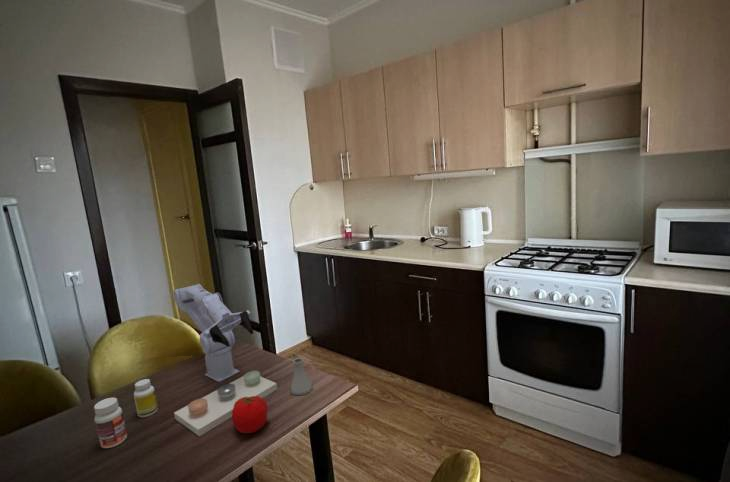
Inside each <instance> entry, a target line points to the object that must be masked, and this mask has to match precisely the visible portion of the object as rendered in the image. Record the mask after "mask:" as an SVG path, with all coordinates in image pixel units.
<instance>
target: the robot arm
mask: <svg viewBox="0 0 730 482" xmlns="http://www.w3.org/2000/svg"><path fill="white" fill-rule="evenodd" d="M173 298H174V302H175V304H176V306H177V307H178V308H179V309H180V311H181V312H184V313H187V314H188V315H189V317H190V318H191V320H192V321H193V322H194V324H195V325H196V326H197V328H198V329H199V330H200V332H201V333H200V334H199V344H200V346H201V348H202V351H203V353H204V354H205V355H204V361H205V366H206V373H205V374H204V376H205V377H208V378H210V379H212V380H214V381H216V382H217V383H221V382H223V381H224V380H226V379H229V378H231V377H232V376H235V375H236V374H238V373H240V370H239V369H236V368H234V363H233V356H232V349H233V346H234V344H235V341H236V340H235V335H234V332H233V330H234V329H236V327H237V326H238V325H240V324H241V323H242V327H243V329H245V330H247V331H248V333H249V334H250V335H253V334H254V331H253V330H254V329H253V327H252V326H251V321H250V319H252V313H251V311H250V310H248V309H246V310H244V311H239V312H235V313H234V312H233V313H232V312H231V310H230V309H229V308H228V307H227V306H226V305H225V304H224V300H223V298H222V295H221V294H220V293H219V292H215V293H212V292H210V291H208V290H206V289H205V288H203V286H202V285H201V284H200V283H197V284H194V285H190V286H185V287H182V288H175V289H174V291H173Z"/></svg>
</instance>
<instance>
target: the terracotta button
mask: <svg viewBox="0 0 730 482" xmlns="http://www.w3.org/2000/svg"><path fill="white" fill-rule="evenodd" d="M187 406H188V409H189V413H190V414H193V415H195V414H199V413H202V412H204V411H205V410H206V409H207V408H208V403H207V400H206V399H204V398H203V397H201V398H197V399H195V400H193V401H191V402H189V404H188V405H187Z"/></svg>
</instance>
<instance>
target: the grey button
mask: <svg viewBox="0 0 730 482" xmlns="http://www.w3.org/2000/svg"><path fill="white" fill-rule="evenodd" d="M216 390H217V391H218V397H219V398H228V397H230V396H232V395H234V394H235V392H236V390H235V385H234V384H229V383H225V384H223V385H221V386H219V387H218V388H217V389H216Z"/></svg>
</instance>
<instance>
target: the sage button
mask: <svg viewBox="0 0 730 482" xmlns="http://www.w3.org/2000/svg"><path fill="white" fill-rule="evenodd" d="M243 376H244V382H245V383H246V384H252V383H255V382H257V381H259V380H260V376H261V372H260V371H258V370H251V371H248V372H246V373H245V374H243Z"/></svg>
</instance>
